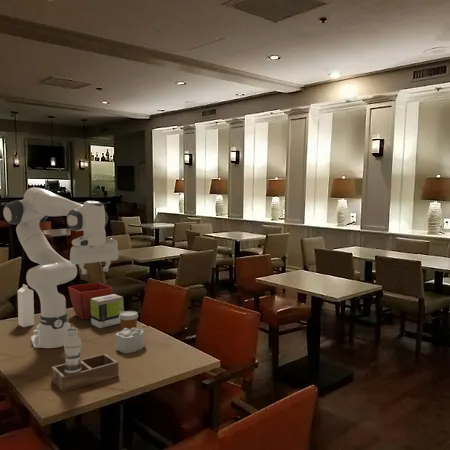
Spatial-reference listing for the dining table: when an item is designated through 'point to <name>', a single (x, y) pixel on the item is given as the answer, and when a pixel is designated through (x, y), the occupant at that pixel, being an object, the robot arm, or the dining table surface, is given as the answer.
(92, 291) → the plant pot
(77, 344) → the metal bottle
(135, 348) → the lumpy-topped squat cylinder
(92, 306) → the tea box
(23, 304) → the milk
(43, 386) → the dining table surface
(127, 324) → the disposable coffee cup
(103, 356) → the bottle carrier
